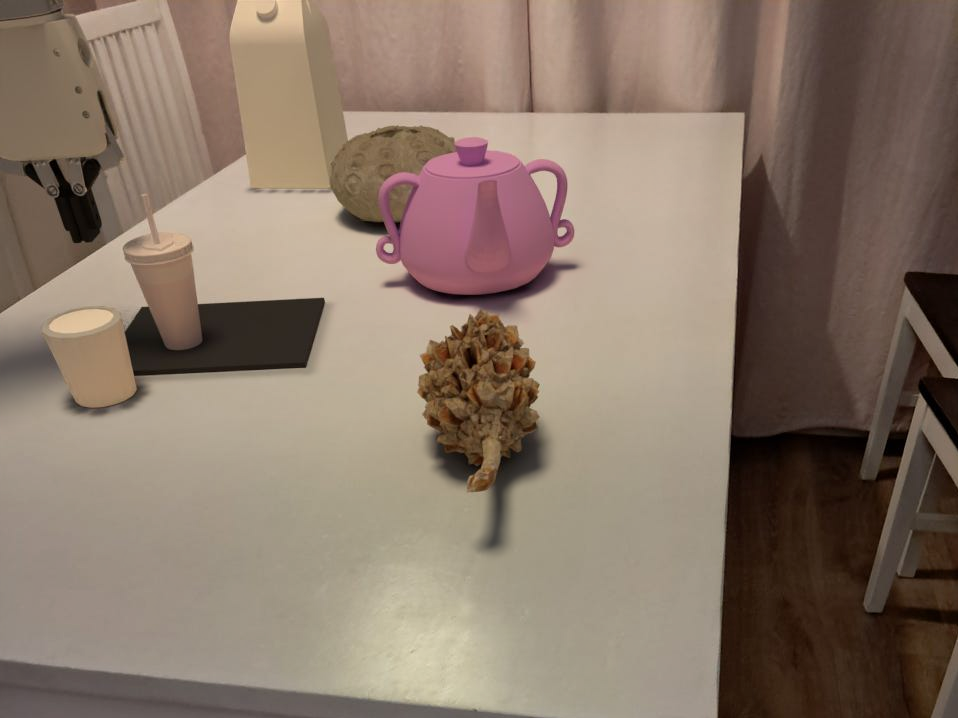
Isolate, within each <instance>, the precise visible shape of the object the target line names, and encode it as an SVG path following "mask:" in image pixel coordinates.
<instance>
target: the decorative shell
mask: <svg viewBox="0 0 958 718" xmlns="http://www.w3.org/2000/svg"><path fill="white" fill-rule="evenodd" d="M455 142H456V141H455V138H454V137H453V136H450V137H449V136H448V135H446V134H445V133H443V132H442V131H440V129H438V128H437V129H436V128H434V127H430V126H423V125H419V126H416V125H414V126H406V125H405V126H403V125H398V124H397V125H387V126H384V127H382V128H381V127H377V129H376V130H371V131H370V132H364V133H362V134H361V133H360V134H357V135H355V136H353V137H352V138H350V139H348V142H346V143H345V144H343V145H342V147H341V148H340V149H339V151H338V153H337V155H336V156H335V158H334V160H333V161H332V162H331V172H330V185H331V188H330V189H331V190H332V193H333V195H334V196H335V198H336V200H337V201H338V203H340V205H341V206H342V207H343V208H344V209H346V211H347V212H348V213H350V214H351V215H353V216H355V217H356V218H358V219H359V220H361V221H362V222H365V221H366V222H372V223H384V221H383V218H382V215H381V212H380V208H379V201H378V196H379V191H380V188H381V186H382V184H383V183H384V182H385V181H386V180H387V179H388V178H389V177H391V176H393V175H395V174H397V173H402V172H407V173H412V174H415V175H417V176H419V174H420V172H421V170H422V169H423V167H424V165H425V164H426V163H427V162H428V161H429V160H431V159H433V158H435V157H438V156H441V155H445V154H449V153H454V152H457V151H456V148H455V144H454V143H455ZM412 188H413V185H406V184H405V185H399V186H396V187H394V188H393V189H392V190H391V191H390V193H389V207H390V211H391V214H392V217H393V220H394V222H395V224H396V223H401V219H402V215H403V211H404V208H405V205H406V203H407V200H408V197H409V195H410V193H411V190H412Z"/></svg>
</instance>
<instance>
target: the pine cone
mask: <svg viewBox="0 0 958 718" xmlns="http://www.w3.org/2000/svg"><path fill="white" fill-rule="evenodd" d="M449 328H450V332H451V334H450V335H449V336H447V335H445V336H444V339H445V340H441V341H440V342H438V341H436V340H433V339H429V340H428V344H427V346H426V350H425V352H424V353H421V354H419V357H420V360H421V361H422V363H423V365H424V366H423V368H424V370H425V371H426V373H423V374H420V375H419V376H418V384H417V386H418V389H417V391H416V393H417V394H418V395H419V396H420V398H421V399H423V400H424V401H425V402H426V403H425V406H424V408H425V410H424V411H423V412H422V414H421V415H422V416H423V417H424V419H425V420H426V425H427V426H429V427H430V428H433V429H434V430H436V431H438V432H440V433H439V434H438V435H437V440H436V442H438V443H441V444H442V445H443V448H444V450H445V453H446V454H448V453H455V452H457V453H459V454H462V453H463V454H464V455H465V456H466V457H467V462H468V465H474V466H476V467H479V466H480V465H481V467H480V468H479V469H478V470H477V471H476V472H475V473H474V474H471V475H469V476H468V479H467V480H466V481H467V482H466V488H465V489H466V493H477V492H478V493H479V492H484V491H487V490H488V489H490V488H491V487H492V486H493V485H494V484H495V483H496V479H497V474H498V471H499V467H500V463H501V459H502V457H505V458H507V459H510V458H511V449H512V450H513V451H514V452H516V453H520V452H521V451H522V449H523V446H522V442H521V441H522V438H525V437H526V435H529V434H532V433H534V432H536V430H537V429H538V428H539V427H538V424H537V423H538V422H537V421H538V420H539V419H540V418H541V417H540V415H539V412H538V411H537V410H535V409H533V408H531V406H532V405H533V404H534V403H535V402H537V400H538V398H539V396H538V394H539V393H540V390H539V387H540V383H539V382H538V381H536V380H535V379H534V377H530V376H531V372H533V370H534V369H535V367H536V363H537V361H536V360H534V359H533V358H531V357H530V348H528V347H523V345H524V344H525V342H524V340H523V339H521V338H520V334H519V329H518V325H515V324H509V325H506V326H505V325H504V323H503V322H502V321H501V318H500V314H498V313H496V312H495V313H491V314H489V312H488V311H486V310H484V309H481V308H480V309H479V310H478V311H477V313H476V315H475V316H473V315H472V314H471V313H469V315H468V319H467V321H466V323H463V325H461V326H460V329H461V330H459V328H458V327H456V326H454V325H453V324H451V325H449Z"/></svg>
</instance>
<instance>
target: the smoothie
mask: <svg viewBox="0 0 958 718" xmlns="http://www.w3.org/2000/svg"><path fill="white" fill-rule="evenodd" d="M140 197H141V199H142V200H141V201H142V205H143V207H144V212H145V216H146V218H147V222H148V226H149V230H150V233H149V234H145V235H140V236H137V237H135V238H132V239H131V240H129V241H127V242H125V244H124V245H123V246H122V251H123V255H124V261H126V262H127V263H128V264H130V266H131V269H132V271H133V273H134V276H135V279H136V281H137V283H138V285H139V287H140V290H141V292H142V295H143V297H144V299H145V302H146V305H147V307H149V309H150V311H151V313H152V316H153V318H154V321H155V323H156V325H157V328H158V330H159V332H160V335H161V337H162V339H163V342H164V344H165V346H166V348H168V349H171V350H185V349H190V348H193V347H195V346H197V345H199V344H200V343H201V342H202V333H201V325H200V317H199V309H198V304H199V303H198V295H197V287H196V280H195V270H194V263H193V257H192V254H193V252H194V250H195V248H194V246H193V242H192V238H191V236H190V235H188V234H186V233H182V232H177V231H163V232H158V228H157V224H156V221H155V217H154V214H153V210H152V206H151V201H150V199H149V195H148V194H147V193H143V194H140Z"/></svg>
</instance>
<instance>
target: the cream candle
mask: <svg viewBox="0 0 958 718" xmlns="http://www.w3.org/2000/svg"><path fill="white" fill-rule="evenodd" d="M41 333H42V335H43V337H44V340H45V341H46V343H47V347H48V348H49V350H50V352H51V354H52V356H53V358H54V360H55V362H56V364H57V367H58V368H59V371H60V372H61V374H62V377H63V379H64V382H65V383H66V385H67V387H68V389H69V391H70V393H71V396H72V397H73V399H74V401H75V403H76V404H77V405H79V406H81V407H85V408H90V409H91V408H93V409H95V408H105V407H111V406H115V405H118V404H120V403H123V402H125V401H127V400H129V399H130V398H131V397H133V396H134V395H135V394H136V392H137V391H138V388H137V383H136V378H135V375H134V374H133V369H132V365H131V360H130V355H129V351H128V346H127V341H126V337H125V328H124V324H123V319H122V314H121V311H120V310H118V309H116V308H114V307H111V306H110V307H109V306H103V305H101V306H100V305H97V306H96V305H95V306H93V305H92V306H83V307H78V308H72V309H69V310H66V311H63V312H60V313H57V314H55V315H53V316H51V317H49V318H48V319H46V320H45V321H44V323H42V325H41Z"/></svg>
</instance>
